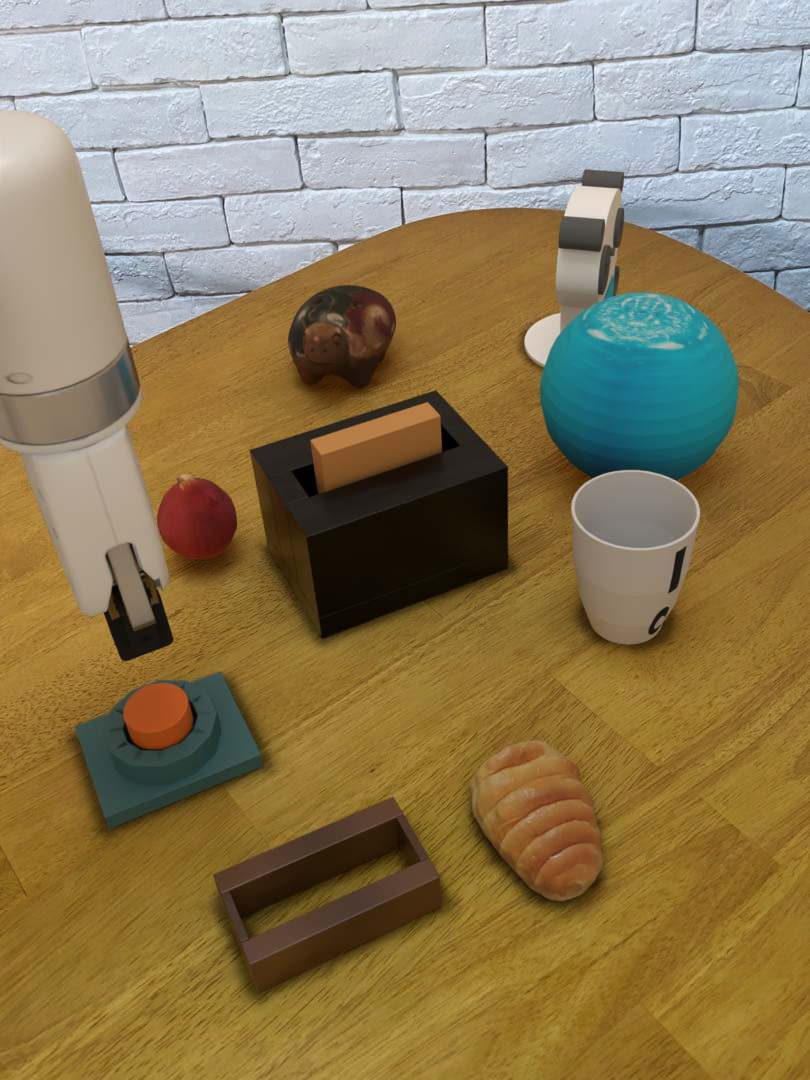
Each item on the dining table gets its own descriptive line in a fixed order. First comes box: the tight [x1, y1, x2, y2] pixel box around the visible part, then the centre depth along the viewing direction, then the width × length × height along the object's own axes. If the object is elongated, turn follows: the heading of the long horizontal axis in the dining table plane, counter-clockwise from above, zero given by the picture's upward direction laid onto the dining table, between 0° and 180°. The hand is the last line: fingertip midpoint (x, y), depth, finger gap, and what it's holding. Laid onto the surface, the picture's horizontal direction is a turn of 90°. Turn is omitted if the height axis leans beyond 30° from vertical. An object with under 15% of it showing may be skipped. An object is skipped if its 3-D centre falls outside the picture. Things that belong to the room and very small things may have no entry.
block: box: [74, 671, 264, 830], centre depth 72 cm, size 10×8×3 cm
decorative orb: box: [539, 291, 740, 482], centre depth 87 cm, size 15×15×15 cm
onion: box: [156, 473, 238, 561], centre depth 84 cm, size 6×6×8 cm
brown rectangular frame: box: [213, 796, 443, 993], centre depth 63 cm, size 11×6×3 cm, turn 116°
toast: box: [310, 402, 442, 494], centre depth 81 cm, size 9×2×10 cm, turn 116°
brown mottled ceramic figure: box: [287, 284, 397, 389], centre depth 103 cm, size 10×15×8 cm, turn 172°
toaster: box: [249, 389, 509, 640], centre depth 82 cm, size 15×11×10 cm
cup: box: [570, 470, 701, 646], centre depth 76 cm, size 8×8×10 cm
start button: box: [123, 683, 193, 750], centre depth 70 cm, size 4×4×2 cm
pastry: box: [469, 739, 604, 902], centre depth 65 cm, size 9×7×4 cm
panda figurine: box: [524, 168, 625, 369], centre depth 101 cm, size 12×11×15 cm
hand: (144, 643), depth 66 cm, fingers closed
